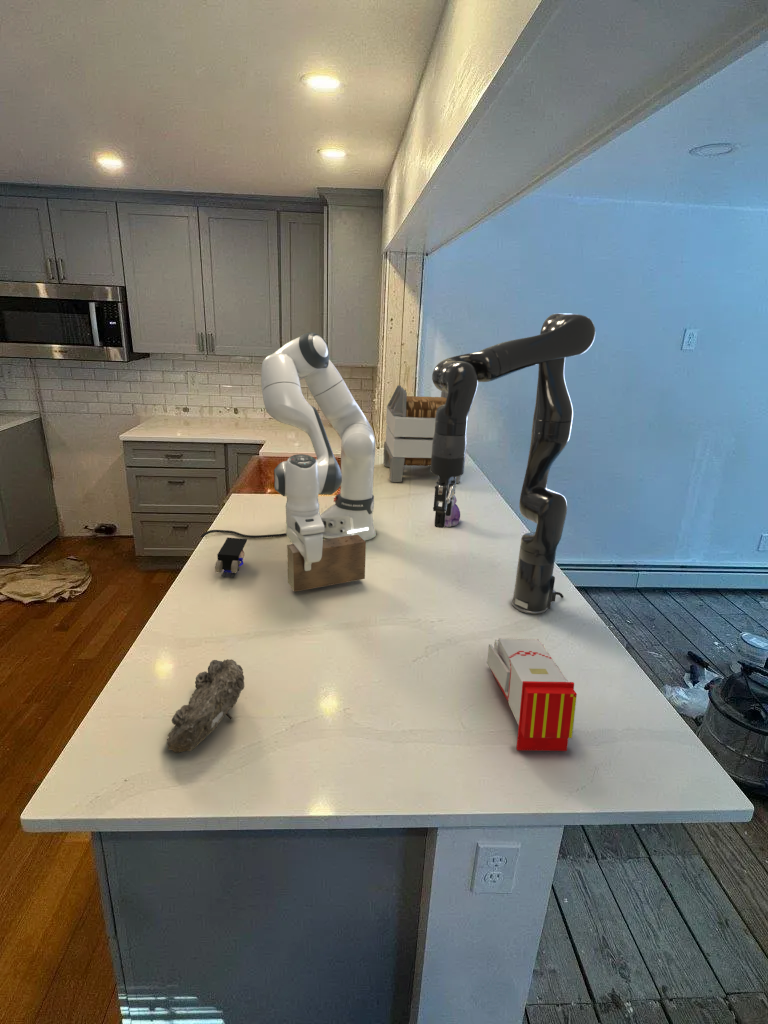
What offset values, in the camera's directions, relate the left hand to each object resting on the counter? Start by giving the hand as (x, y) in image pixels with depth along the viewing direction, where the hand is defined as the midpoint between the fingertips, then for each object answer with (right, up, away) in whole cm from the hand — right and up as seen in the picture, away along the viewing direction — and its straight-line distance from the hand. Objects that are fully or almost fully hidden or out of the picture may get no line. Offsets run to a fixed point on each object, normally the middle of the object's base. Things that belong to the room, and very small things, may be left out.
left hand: (302, 564), depth 155 cm
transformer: (+39, +33, +120) cm, 131 cm away
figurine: (+46, +10, +57) cm, 74 cm away
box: (+6, -5, +5) cm, 9 cm away
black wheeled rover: (-23, -3, +13) cm, 26 cm away
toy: (+50, -25, -39) cm, 68 cm away
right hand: (+36, +12, -23) cm, 44 cm away
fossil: (-11, -25, -47) cm, 54 cm away
